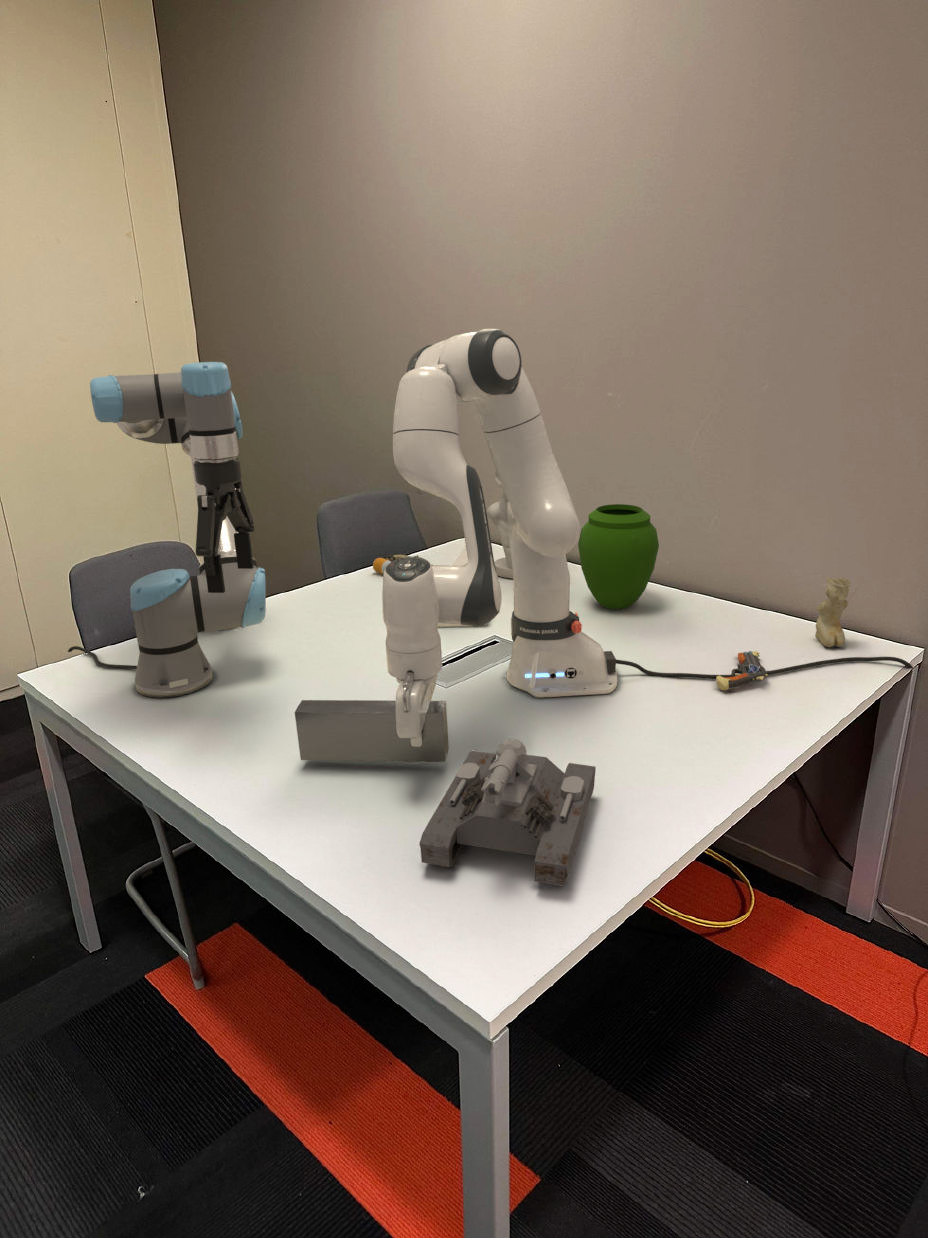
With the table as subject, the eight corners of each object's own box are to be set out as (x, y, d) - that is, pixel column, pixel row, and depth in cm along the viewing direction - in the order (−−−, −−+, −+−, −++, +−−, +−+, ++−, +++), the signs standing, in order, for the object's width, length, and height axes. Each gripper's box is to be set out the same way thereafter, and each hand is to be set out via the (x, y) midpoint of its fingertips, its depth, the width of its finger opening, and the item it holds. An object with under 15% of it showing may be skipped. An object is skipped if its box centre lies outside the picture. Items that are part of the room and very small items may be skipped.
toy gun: (718, 681, 165) (772, 678, 163) (709, 649, 183) (758, 646, 181) (718, 694, 166) (772, 691, 164) (710, 661, 184) (758, 658, 181)
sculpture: (821, 649, 184) (830, 583, 179) (808, 637, 191) (816, 573, 185) (848, 649, 184) (858, 582, 179) (834, 636, 191) (843, 572, 185)
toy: (472, 777, 139) (469, 694, 134) (595, 793, 134) (597, 707, 128) (420, 872, 116) (414, 776, 111) (565, 897, 111) (567, 797, 106)
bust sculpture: (503, 593, 225) (502, 460, 212) (483, 567, 247) (480, 445, 234) (562, 587, 228) (563, 456, 215) (536, 562, 250) (536, 441, 237)
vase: (599, 587, 227) (601, 497, 218) (668, 600, 216) (673, 505, 208) (562, 608, 212) (564, 513, 204) (634, 623, 202) (639, 523, 193)
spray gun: (392, 561, 257) (437, 568, 251) (363, 574, 243) (410, 581, 237) (392, 547, 256) (437, 554, 250) (363, 559, 241) (410, 566, 236)
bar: (448, 748, 144) (446, 700, 141) (445, 762, 140) (442, 713, 137) (307, 747, 147) (301, 700, 144) (300, 760, 143) (294, 712, 140)
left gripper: (223, 446, 155) (237, 558, 162) (161, 473, 132) (181, 603, 139) (263, 446, 154) (275, 559, 161) (207, 473, 131) (225, 603, 138)
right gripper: (424, 687, 127) (430, 768, 132) (441, 635, 146) (446, 708, 151) (382, 687, 127) (389, 768, 132) (405, 635, 146) (410, 707, 151)
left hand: (232, 579), depth 150 cm, fingers open, 13 cm apart
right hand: (419, 735), depth 142 cm, fingers closed on bar, 4 cm apart
